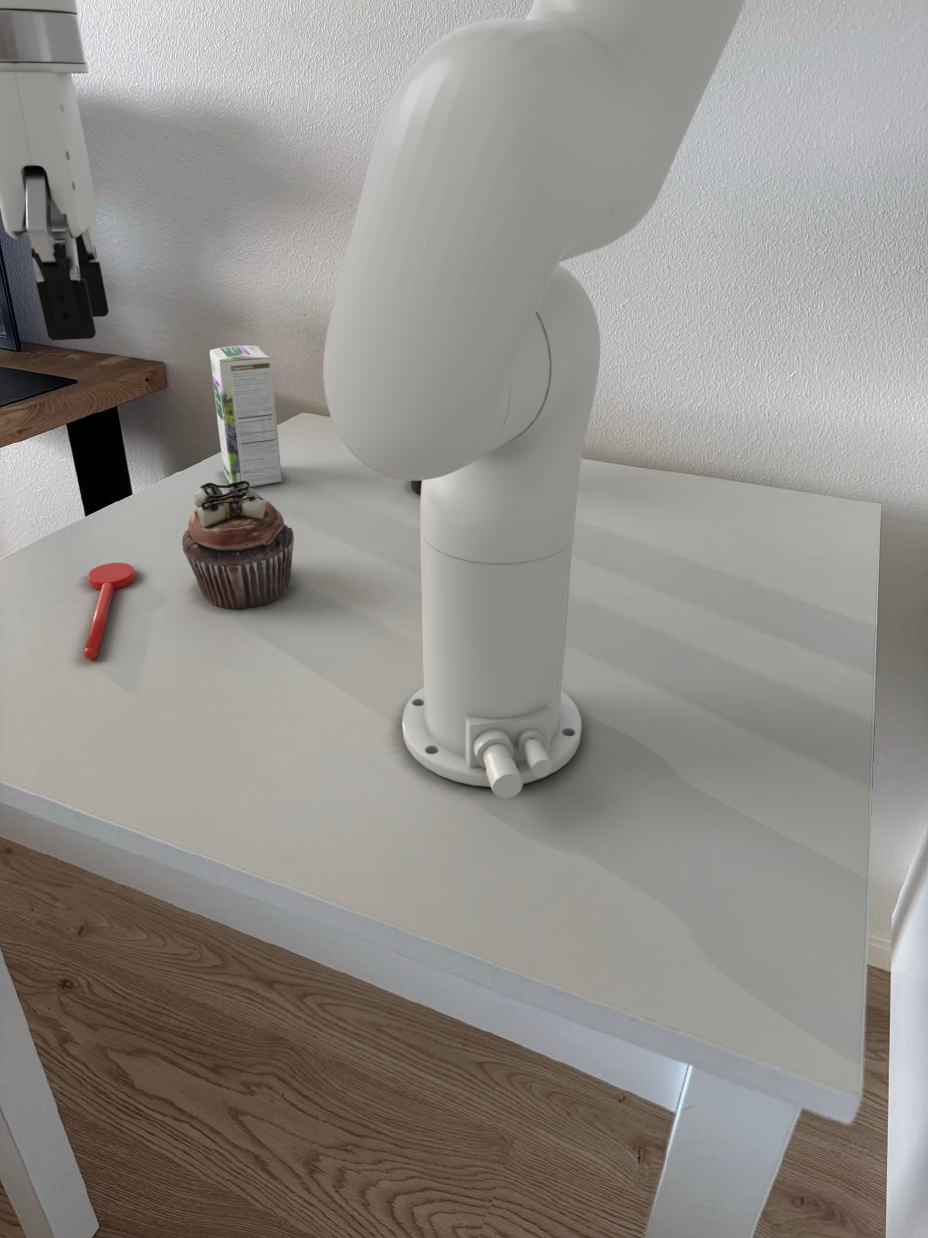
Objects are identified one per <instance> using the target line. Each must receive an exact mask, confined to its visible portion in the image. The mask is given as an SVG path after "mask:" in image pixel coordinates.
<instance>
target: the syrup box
mask: <svg viewBox="0 0 928 1238" xmlns="http://www.w3.org/2000/svg"><path fill="white" fill-rule="evenodd" d="M209 359H210V364H211V373H212V374H211V375H212V384H213V393H214V400H215V402H214V403H215V410H216V411H215V412H216V417H217V418H216V419H217V420H216V421H217V427H218V436H219V444H220V453H221V460H222V468H223V473H224V475H225V477H226V479H227V480H228V482H229V484H232V483H234V482H240V481H247V482H249V484H250V486H249V487H250V488H251V487H257V486H265V485H269V484H274V483H281V482H282V481H283V479H282V478H283V477H282V465H281V454H280V443H279V432H278V422H277V409H276V398H275V397H276V396H275V387H274V377H273V367H272V358H271V356H270V355H268V354H267V353H266V352H265V350H263V349H262V348H261V347H260V346H258V345H232V346H231V345H230V346H223V347H218V348H213V349H210V350H209Z"/></svg>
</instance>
